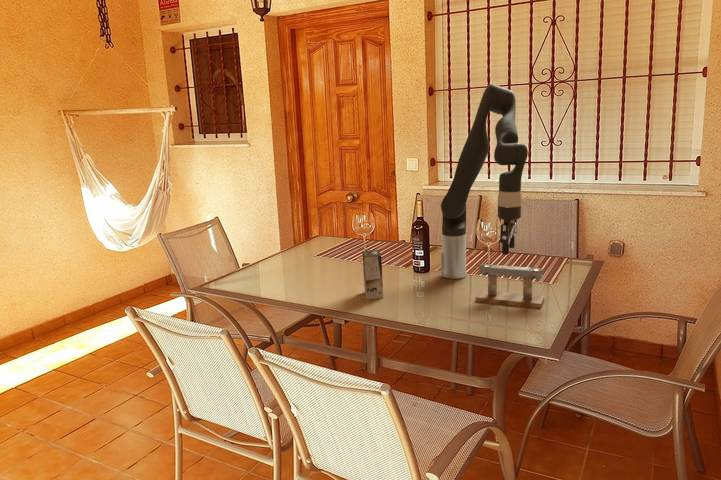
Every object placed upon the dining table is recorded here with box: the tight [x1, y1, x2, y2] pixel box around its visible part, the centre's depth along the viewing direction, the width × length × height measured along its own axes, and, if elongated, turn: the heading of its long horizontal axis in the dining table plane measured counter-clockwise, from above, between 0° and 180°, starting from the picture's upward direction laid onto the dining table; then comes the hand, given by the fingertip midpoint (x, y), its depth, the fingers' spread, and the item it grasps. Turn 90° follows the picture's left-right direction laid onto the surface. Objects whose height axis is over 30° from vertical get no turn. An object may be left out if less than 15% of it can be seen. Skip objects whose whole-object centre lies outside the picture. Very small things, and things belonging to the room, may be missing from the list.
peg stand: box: [475, 274, 545, 309], centre depth 202 cm, size 22×8×10 cm, turn 65°
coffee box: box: [362, 249, 384, 300], centre depth 214 cm, size 9×6×16 cm
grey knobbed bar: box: [478, 263, 544, 280], centre depth 200 cm, size 21×4×2 cm, turn 65°
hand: (508, 251), depth 198 cm, fingers open, 8 cm apart
